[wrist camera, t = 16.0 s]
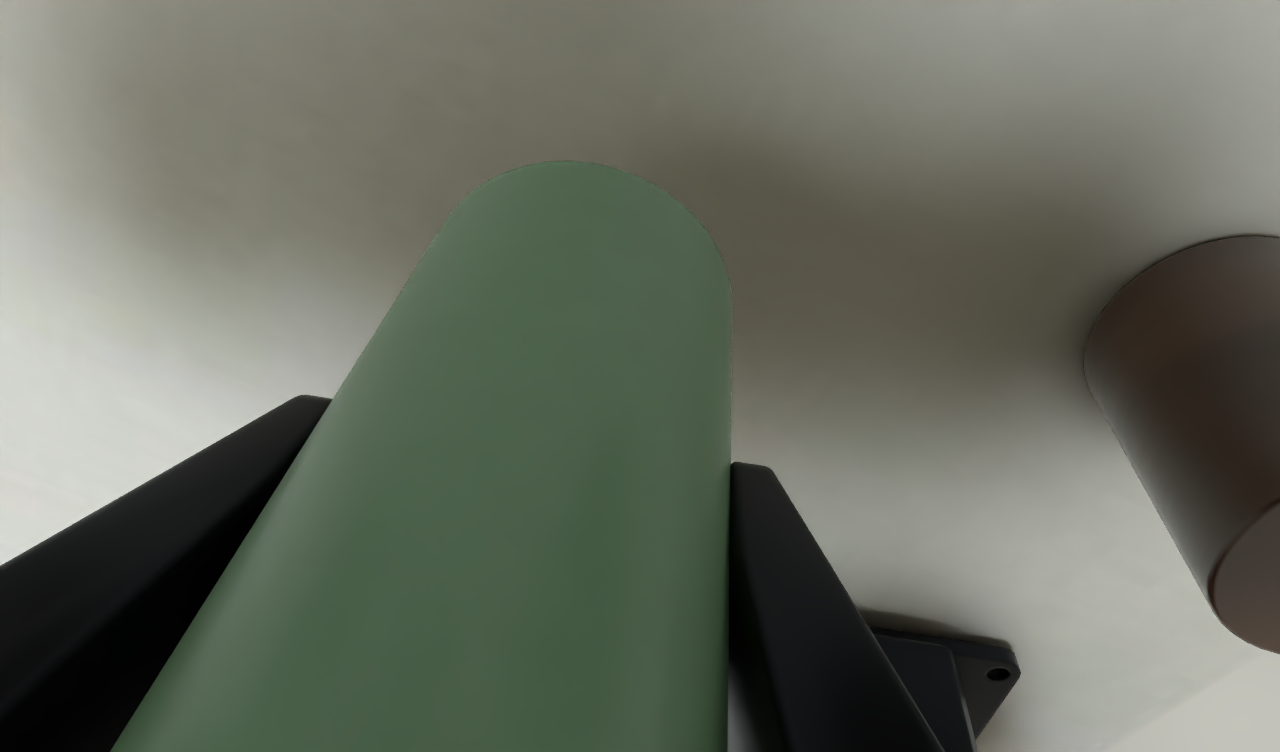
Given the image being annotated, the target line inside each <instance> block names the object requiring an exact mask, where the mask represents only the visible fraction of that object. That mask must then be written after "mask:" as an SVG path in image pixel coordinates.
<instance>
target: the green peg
mask: <svg viewBox="0 0 1280 752" xmlns="http://www.w3.org/2000/svg"><path fill="white" fill-rule="evenodd" d="M731 394H732V292H731V285H730V279H729V276H728V273H727V270H726V266H725V263H724V260H723V258H722V256H721V254H720V252H719V250H718V248H717V246H716V244H715V242H714V241H713V239H712V238H711V236H710V235H709V233H708V232H707V231H706V229H705V228H704V226H703V225H702V224H701V223H700V222H699V221H698V220H697V218H696V217H695V216H694V215H693V214H692V213H691V212H690V211H689V210H688V209H687V208H686V207H685V206H683V205H682V204H681V203H680V202H679V201H678V200H676V199H675V198H674V197H673V196H671V195H670V194H668V193H667V192H665V191H664V190H662V189H661V188H659V187H658V186H656V185H654V184H652V183H650V182H648V181H646V180H644V179H642V178H640V177H638V176H636V175H634V174H631V173H628V172H625V171H622V170H620V169H617V168H614V167H609V166H604V165H600V164H595V163H588V162H577V161H554V162H544V163H538V164H532V165H526V166H523V167H520V168H517V169H513V170H510V171H507V172H505V173H503V174H501V175H499V176H496V177H494V178H492V179H490V180H488V181H487V182H485V183H484V184H482V185H481V186H479V187H478V188H476V189H475V190H473V191H472V192H471V193H470V194H469V195H468V196H467V197H465V198H464V199H463V200H462V201H461V202H460V203H459V204H458V205H457V206H456V208H455V209H454V210H453V211H452V213H451V214H450V215H449V216H448V218H447V219H446V221H445V222H444V224H443V226H442V227H441V229H440V230H439V232H438V233H437V235H436V237H435V238H434V240H433V241H432V243H431V245H430V246H429V248H428V249H427V251H426V252H425V254H424V256H423V257H422V259H421V260H420V262H419V264H418V265H417V267H416V268H415V270H414V271H413V273H412V275H411V276H410V278H409V279H408V281H407V283H406V284H405V286H404V287H403V289H402V290H401V292H400V294H399V295H398V297H397V298H396V300H395V301H394V303H393V305H392V306H391V308H390V309H389V311H388V313H387V314H386V316H385V317H384V319H383V320H382V322H381V324H380V325H379V327H378V328H377V330H376V332H375V333H374V335H373V336H372V338H371V339H370V341H369V343H368V344H367V346H366V347H365V349H364V351H363V352H362V354H361V355H360V357H359V358H358V360H357V362H356V363H355V365H354V366H353V368H352V370H351V371H350V373H349V374H348V376H347V377H346V379H345V381H344V382H343V384H342V385H341V387H340V388H339V390H338V392H337V393H336V395H335V396H334V398H333V400H332V401H331V403H330V404H329V406H328V407H327V409H326V411H325V412H324V414H323V415H322V417H321V419H320V420H319V422H318V423H317V425H316V426H315V428H314V430H313V431H312V433H311V434H310V436H309V438H308V439H307V441H306V442H305V444H304V445H303V447H302V449H301V450H300V452H299V453H298V455H297V456H296V458H295V460H294V461H293V463H292V464H291V466H290V468H289V469H288V471H287V472H286V474H285V475H284V477H283V479H282V480H281V482H280V483H279V485H278V487H277V488H276V490H275V491H274V493H273V494H272V496H271V498H270V499H269V501H268V502H267V504H266V506H265V507H264V509H263V510H262V512H261V513H260V515H259V517H258V518H257V520H256V521H255V523H254V525H253V526H252V528H251V529H250V531H249V532H248V534H247V536H246V537H245V539H244V540H243V542H242V543H241V545H240V547H239V548H238V550H237V551H236V553H235V555H234V556H233V558H232V559H231V561H230V562H229V564H228V566H227V567H226V569H225V570H224V572H223V574H222V575H221V577H220V578H219V580H218V581H217V583H216V585H215V586H214V588H213V589H212V591H211V593H210V594H209V596H208V597H207V599H206V600H205V602H204V604H203V605H202V607H201V608H200V610H199V611H198V613H197V615H196V616H195V618H194V619H193V621H192V623H191V624H190V626H189V627H188V629H187V630H186V632H185V634H184V635H183V637H182V638H181V640H180V642H179V643H178V645H177V646H176V648H175V649H174V651H173V653H172V654H171V656H170V657H169V659H168V661H167V662H166V664H165V665H164V667H163V668H162V670H161V672H160V673H159V675H158V676H157V678H156V680H155V681H154V683H153V684H152V686H151V687H150V689H149V691H148V692H147V694H146V695H145V697H144V698H143V700H142V702H141V703H140V705H139V706H138V708H137V710H136V711H135V713H134V714H133V716H132V717H131V719H130V721H129V722H128V724H127V725H126V727H125V729H124V730H123V732H122V733H121V735H120V736H119V738H118V740H117V741H116V743H115V744H114V746H113V748H112V749H111V751H110V752H728V665H729V543H730V465H731Z"/></svg>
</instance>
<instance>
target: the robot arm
mask: <svg viewBox="0 0 1280 752" xmlns="http://www.w3.org/2000/svg"><path fill="white" fill-rule="evenodd" d="M332 400H333V399H330V398H324V397H317V396H311V395H300V396H297V397H294V398H292V399H291V400H289V401H287V402H285V403H284V404H282V405H280V406H278V407H277V408H275V409H273V410H271V411H270V412H268V413H266V414H264V415H263V416H261V417H259V418H258V419H256V420H254V421H252V422H251V423H249V424H247V425H245V426H244V427H242V428H240V429H238V430H237V431H235V432H233V433H231V434H230V435H228V436H226V437H224V438H223V439H221V440H219V441H217V442H216V443H214V444H212V445H210V446H209V447H207V448H205V449H203V450H202V451H200V452H198V453H196V454H195V455H193V456H191V457H189V458H188V459H186V460H184V461H183V462H181V463H179V464H177V465H176V466H174V467H172V468H170V469H169V470H167V471H165V472H163V473H162V474H160V475H158V476H156V477H155V478H153V479H151V480H149V481H148V482H146V483H144V484H142V485H141V486H139V487H137V488H135V489H134V490H132V491H130V492H128V493H127V494H125V495H123V496H121V497H120V498H118V499H116V500H114V501H113V502H111V503H109V504H108V505H106V506H104V507H102V508H101V509H99V510H97V511H95V512H94V513H92V514H90V515H88V516H87V517H85V518H83V519H81V520H80V521H78V522H76V523H74V524H73V525H71V526H69V527H67V528H66V529H64V530H62V531H60V532H59V533H57V534H55V535H53V536H52V537H50V538H48V539H46V540H45V541H43V542H41V543H39V544H38V545H36V546H34V547H33V548H31V549H29V550H27V551H26V552H24V553H22V554H20V555H19V556H17V557H15V558H13V559H12V560H10V561H8V562H6V563H5V564H3V565H1V566H0V752H110V751H111V749H112V748H113V746H114V744H115V743H116V741H117V740H118V738H119V736H120V735H121V733H122V732H123V730H124V729H125V727H126V725H127V724H128V722H129V721H130V719H131V717H132V716H133V714H134V713H135V711H136V710H137V708H138V706H139V705H140V703H141V702H142V700H143V698H144V697H145V695H146V694H147V692H148V691H149V689H150V687H151V686H152V684H153V683H154V681H155V680H156V678H157V676H158V675H159V673H160V672H161V670H162V668H163V667H164V665H165V664H166V662H167V661H168V659H169V657H170V656H171V654H172V653H173V651H174V649H175V648H176V646H177V645H178V643H179V642H180V640H181V638H182V637H183V635H184V634H185V632H186V630H187V629H188V627H189V626H190V624H191V623H192V621H193V619H194V618H195V616H196V615H197V613H198V611H199V610H200V608H201V607H202V605H203V604H204V602H205V600H206V599H207V597H208V596H209V594H210V593H211V591H212V589H213V588H214V586H215V585H216V583H217V581H218V580H219V578H220V577H221V575H222V574H223V572H224V570H225V569H226V567H227V566H228V564H229V562H230V561H231V559H232V558H233V556H234V555H235V553H236V551H237V550H238V548H239V547H240V545H241V543H242V542H243V540H244V539H245V537H246V536H247V534H248V532H249V531H250V529H251V528H252V526H253V525H254V523H255V521H256V520H257V518H258V517H259V515H260V513H261V512H262V510H263V509H264V507H265V506H266V504H267V502H268V501H269V499H270V498H271V496H272V494H273V493H274V491H275V490H276V488H277V487H278V485H279V483H280V482H281V480H282V479H283V477H284V475H285V474H286V472H287V471H288V469H289V468H290V466H291V464H292V463H293V461H294V460H295V458H296V456H297V455H298V453H299V452H300V450H301V449H302V447H303V445H304V444H305V442H306V441H307V439H308V438H309V436H310V434H311V433H312V431H313V430H314V428H315V426H316V425H317V423H318V422H319V420H320V419H321V417H322V415H323V414H324V412H325V411H326V409H327V407H328V406H329V404H330V403H331V401H332ZM1020 674H1021V672H1020V668H1019V665H1018V662H1017V659H1016V656H1015V653H1014V652H1012V651H1011V650H1010V649H1006V648H1003V647H998V646H991V645H985V644H978V643H972V642H965V641H959V640H952V639H946V638H939V637H933V636H926V635H920V634H913V633H907V632H900V631H894V630H888V629H881V628H875V627H868V625H867V624H866V622H865V621H864V619H863V617H862V616H861V614H860V612H859V611H858V609H857V607H856V606H855V604H854V603H853V601H852V599H851V598H850V596H849V594H848V593H847V591H846V589H845V588H844V586H843V585H842V583H841V581H840V580H839V578H838V576H837V575H836V573H835V572H834V570H833V568H832V567H831V565H830V563H829V562H828V560H827V558H826V557H825V555H824V554H823V552H822V550H821V549H820V547H819V545H818V544H817V542H816V541H815V539H814V537H813V536H812V534H811V532H810V531H809V529H808V527H807V526H806V524H805V523H804V521H803V519H802V518H801V516H800V514H799V513H798V511H797V510H796V508H795V506H794V505H793V503H792V501H791V500H790V498H789V496H788V495H787V493H786V492H785V490H784V488H783V487H782V485H781V483H780V482H779V480H778V478H777V477H776V475H775V474H774V472H773V471H772V470H771V469H770V468H769V467H766V466H761V465H755V464H749V463H742V462H734V463H732V464H731V465H730V543H729V665H728V752H978V750H977V746H976V742H975V740H976V739H977V738H978V736H979V735H980V733H981V732H982V730H983V729H984V728H985V726H986V725H987V723H988V722H989V720H990V719H991V717H992V716H993V715H994V713H995V712H996V710H997V709H998V707H999V706H1000V705H1001V703H1002V702H1003V700H1004V699H1005V697H1006V696H1007V695H1008V693H1009V692H1010V690H1011V689H1012V687H1013V686H1014V685H1015V683H1016V682H1017V680H1018V679H1019V677H1020Z"/></svg>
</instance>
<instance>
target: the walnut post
mask: <svg viewBox="0 0 1280 752" xmlns="http://www.w3.org/2000/svg"><path fill="white" fill-rule="evenodd" d="M1084 369H1085V376H1086V380H1087V384H1088V386H1089V388H1090V391H1091V393H1092V395H1093V396H1094V398H1095V400H1096V402H1097V404H1098V405H1099V407H1100V409H1101V411H1102V413H1103V414H1104V416H1105V418H1106V420H1107V422H1108V423H1109V425H1110V427H1111V429H1112V431H1113V432H1114V434H1115V436H1116V438H1117V440H1118V441H1119V443H1120V445H1121V447H1122V449H1123V450H1124V452H1125V454H1126V456H1127V458H1128V459H1129V461H1130V463H1131V465H1132V467H1133V468H1134V470H1135V472H1136V474H1137V476H1138V478H1139V479H1140V481H1141V483H1142V485H1143V487H1144V488H1145V490H1146V492H1147V494H1148V496H1149V497H1150V499H1151V501H1152V503H1153V505H1154V506H1155V508H1156V510H1157V512H1158V514H1159V515H1160V517H1161V519H1162V521H1163V523H1164V524H1165V526H1166V528H1167V530H1168V532H1169V533H1170V535H1171V537H1172V539H1173V541H1174V542H1175V544H1176V546H1177V548H1178V550H1179V551H1180V553H1181V555H1182V557H1183V559H1184V560H1185V562H1186V564H1187V566H1188V568H1189V569H1190V571H1191V573H1192V575H1193V577H1194V578H1195V580H1196V582H1197V584H1198V586H1199V587H1200V589H1201V591H1202V593H1203V595H1204V596H1205V598H1206V600H1207V602H1208V604H1209V605H1210V607H1211V609H1212V611H1213V613H1214V614H1215V615H1216V617H1217V618H1218V619H1219V621H1220V622H1221V623H1222V624H1223V625H1224V626H1225V627H1226V628H1227V629H1228V630H1230V631H1231V632H1232V633H1233V634H1235V635H1236V636H1238V637H1239V638H1241V639H1242V640H1244V641H1246V642H1247V643H1250V644H1252V645H1254V646H1256V647H1259V648H1261V649H1264V650H1267V651H1270V652H1274V653H1277V654H1280V238H1272V237H1261V236H1253V237H1236V238H1228V239H1222V240H1217V241H1213V242H1209V243H1204V244H1201V245H1198V246H1195V247H1192V248H1189V249H1186V250H1184V251H1182V252H1179V253H1177V254H1175V255H1172V256H1170V257H1168V258H1166V259H1164V260H1163V261H1161V262H1159V263H1157V264H1155V265H1153V266H1152V267H1150V268H1149V269H1147V270H1146V271H1144V272H1143V273H1141V274H1140V275H1138V276H1137V277H1136V278H1135V279H1133V280H1132V281H1131V282H1130V283H1128V284H1127V285H1126V286H1125V287H1124V288H1123V289H1122V290H1121V291H1120V292H1119V293H1118V294H1117V295H1116V296H1115V297H1114V298H1113V299H1112V300H1111V301H1110V302H1109V304H1108V305H1107V306H1106V307H1105V309H1104V310H1103V311H1102V313H1101V314H1100V316H1099V318H1098V319H1097V321H1096V322H1095V324H1094V327H1093V329H1092V331H1091V333H1090V335H1089V339H1088V342H1087V346H1086V350H1085V358H1084Z"/></svg>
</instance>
